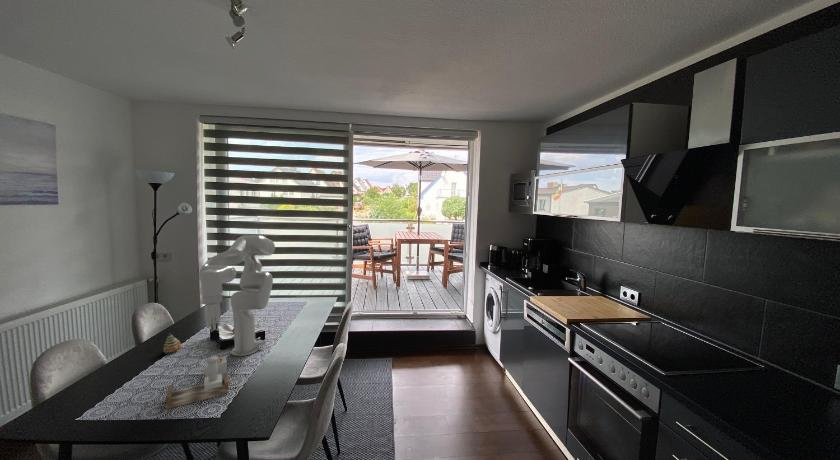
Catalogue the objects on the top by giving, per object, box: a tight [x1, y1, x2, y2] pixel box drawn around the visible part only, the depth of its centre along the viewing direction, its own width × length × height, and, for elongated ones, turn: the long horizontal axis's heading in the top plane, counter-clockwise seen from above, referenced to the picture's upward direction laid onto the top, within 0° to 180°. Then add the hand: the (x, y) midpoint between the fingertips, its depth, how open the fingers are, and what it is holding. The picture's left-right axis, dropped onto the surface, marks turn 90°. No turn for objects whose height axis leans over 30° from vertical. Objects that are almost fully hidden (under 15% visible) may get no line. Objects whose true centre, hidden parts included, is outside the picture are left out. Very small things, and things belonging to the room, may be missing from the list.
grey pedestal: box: [203, 355, 222, 390], centre depth 133 cm, size 6×7×11 cm
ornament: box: [163, 332, 182, 355], centre depth 169 cm, size 8×6×10 cm
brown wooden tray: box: [165, 372, 229, 410], centre depth 131 cm, size 20×9×4 cm, turn 122°
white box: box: [204, 355, 228, 379], centre depth 142 cm, size 8×7×8 cm
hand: (215, 339), depth 142 cm, fingers closed
